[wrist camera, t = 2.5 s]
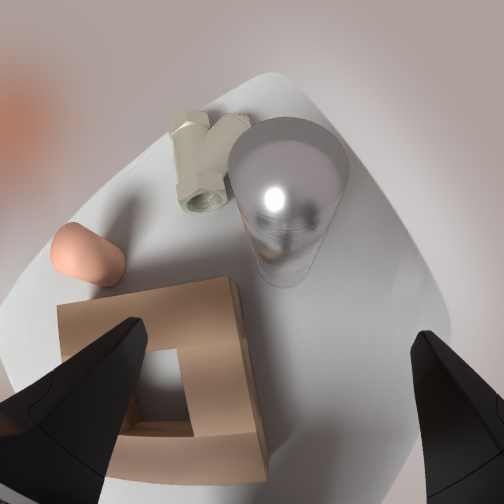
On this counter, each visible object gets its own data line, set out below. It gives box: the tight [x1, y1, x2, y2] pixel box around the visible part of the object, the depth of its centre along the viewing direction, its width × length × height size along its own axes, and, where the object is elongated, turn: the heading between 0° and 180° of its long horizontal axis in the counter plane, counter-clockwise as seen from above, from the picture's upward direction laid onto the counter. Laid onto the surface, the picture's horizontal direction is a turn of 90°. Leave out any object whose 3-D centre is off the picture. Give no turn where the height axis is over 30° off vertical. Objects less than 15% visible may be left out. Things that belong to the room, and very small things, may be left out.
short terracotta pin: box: [50, 222, 126, 287], centre depth 19 cm, size 4×4×6 cm
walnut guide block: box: [57, 276, 270, 485], centre depth 17 cm, size 13×13×4 cm
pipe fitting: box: [168, 110, 251, 214], centre depth 22 cm, size 8×4×7 cm
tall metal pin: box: [227, 117, 349, 288], centre depth 14 cm, size 4×4×13 cm
